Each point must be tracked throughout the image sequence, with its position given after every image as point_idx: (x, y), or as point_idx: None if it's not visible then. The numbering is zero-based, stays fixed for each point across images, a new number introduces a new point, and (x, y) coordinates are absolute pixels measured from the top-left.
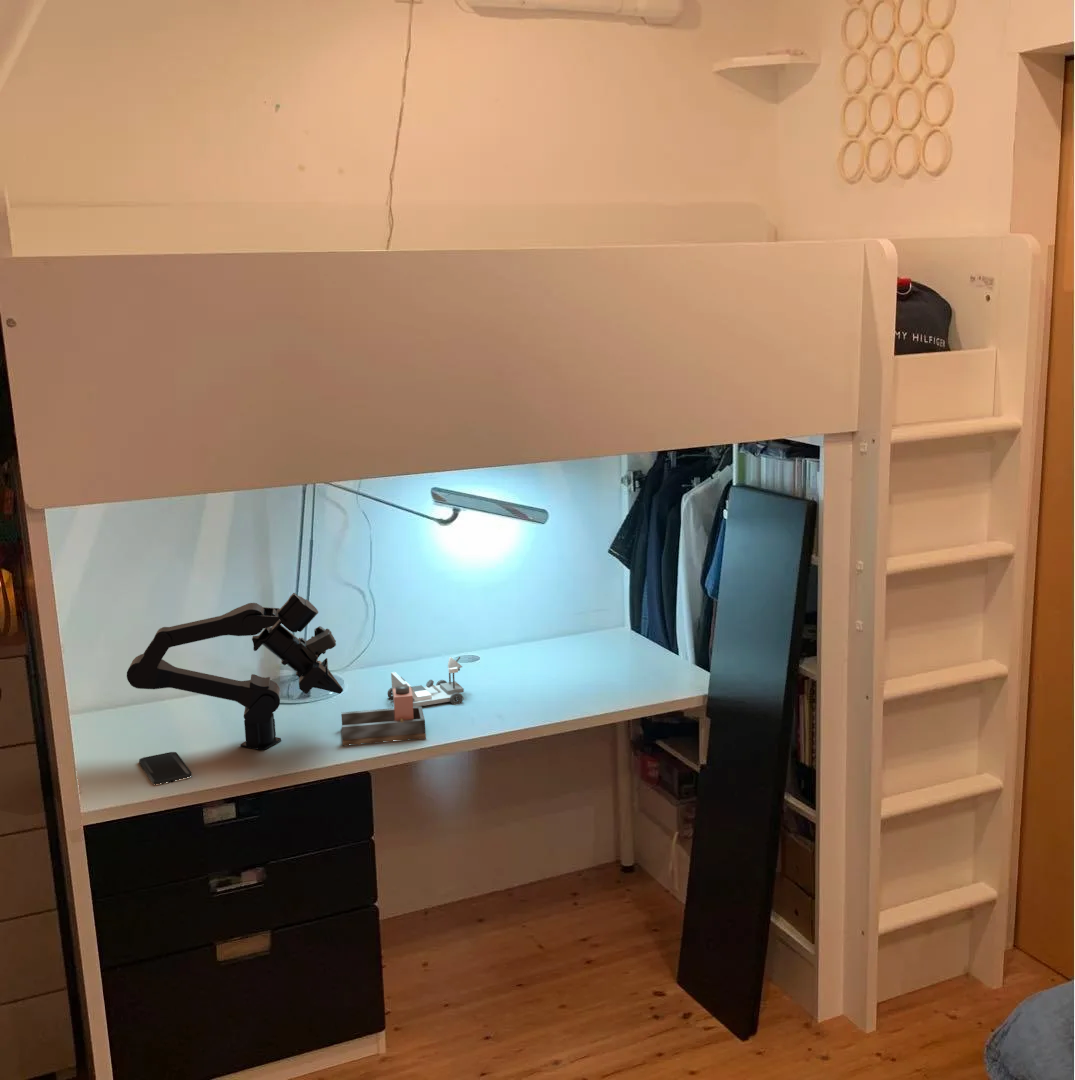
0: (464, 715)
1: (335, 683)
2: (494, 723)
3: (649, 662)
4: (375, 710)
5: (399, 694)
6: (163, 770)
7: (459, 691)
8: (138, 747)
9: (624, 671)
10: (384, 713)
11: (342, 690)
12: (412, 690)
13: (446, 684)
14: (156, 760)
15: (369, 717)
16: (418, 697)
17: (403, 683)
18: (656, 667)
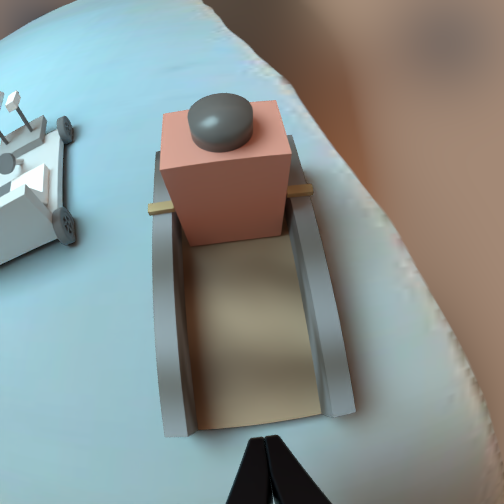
0: (147, 112)
1: (323, 497)
2: (212, 70)
3: (62, 13)
4: (162, 294)
5: (251, 137)
6: None
7: (44, 124)
8: None
9: (72, 17)
10: (176, 264)
11: (279, 437)
12: (31, 190)
13: (6, 149)
14: None
15: (181, 324)
16: (43, 190)
17: (18, 194)
18: (79, 6)
